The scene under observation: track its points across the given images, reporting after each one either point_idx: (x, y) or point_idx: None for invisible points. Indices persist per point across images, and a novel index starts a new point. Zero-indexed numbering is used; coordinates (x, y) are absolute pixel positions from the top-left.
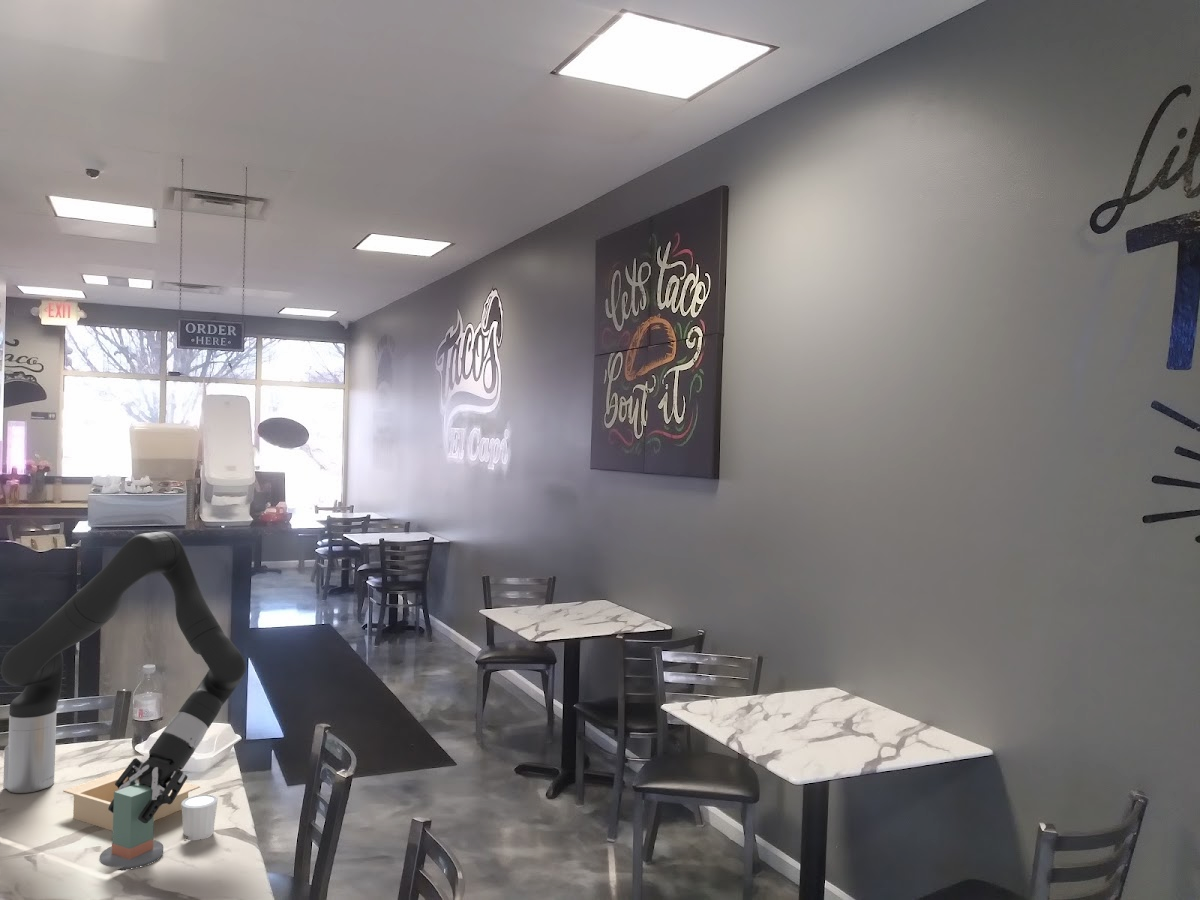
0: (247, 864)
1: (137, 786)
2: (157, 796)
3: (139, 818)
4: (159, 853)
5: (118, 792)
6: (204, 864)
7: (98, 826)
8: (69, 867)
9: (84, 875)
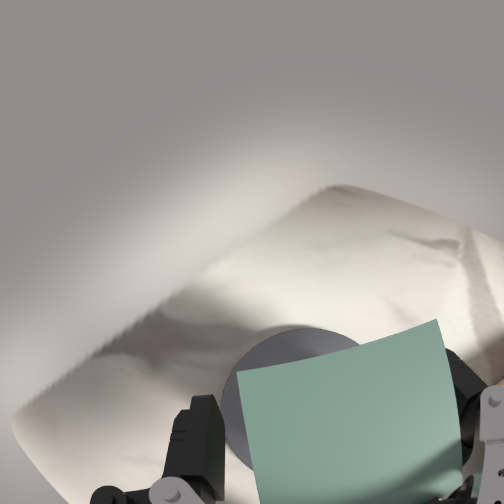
0: (69, 494)
1: (414, 481)
2: (149, 497)
3: (201, 395)
4: (234, 451)
5: (407, 338)
6: (121, 473)
7: (497, 384)
8: (362, 280)
9: (295, 286)
